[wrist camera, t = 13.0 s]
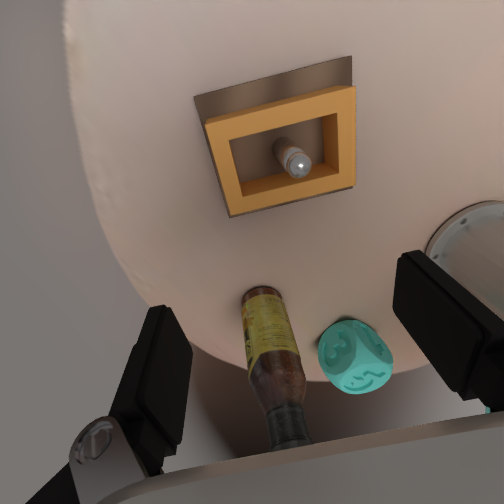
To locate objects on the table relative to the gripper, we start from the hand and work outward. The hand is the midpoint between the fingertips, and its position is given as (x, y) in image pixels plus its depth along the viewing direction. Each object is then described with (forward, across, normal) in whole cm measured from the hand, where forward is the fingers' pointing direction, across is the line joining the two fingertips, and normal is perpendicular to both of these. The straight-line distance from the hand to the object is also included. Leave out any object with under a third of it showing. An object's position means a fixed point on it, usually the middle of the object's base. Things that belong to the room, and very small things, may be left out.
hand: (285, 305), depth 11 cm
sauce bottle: (+21, +2, +19) cm, 29 cm away
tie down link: (+19, -3, -2) cm, 20 cm away
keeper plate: (+21, -4, -2) cm, 21 cm away
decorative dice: (+22, -10, +31) cm, 39 cm away
